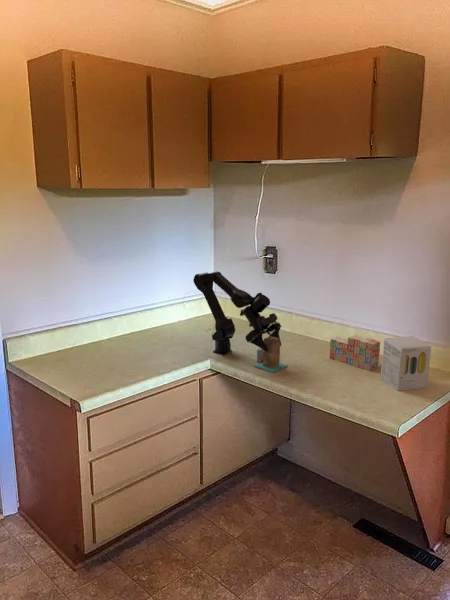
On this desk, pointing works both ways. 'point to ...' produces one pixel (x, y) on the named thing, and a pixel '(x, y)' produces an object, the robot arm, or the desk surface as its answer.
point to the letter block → (271, 352)
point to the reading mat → (271, 368)
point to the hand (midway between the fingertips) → (274, 348)
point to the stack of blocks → (356, 351)
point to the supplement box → (405, 363)
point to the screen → (259, 355)
